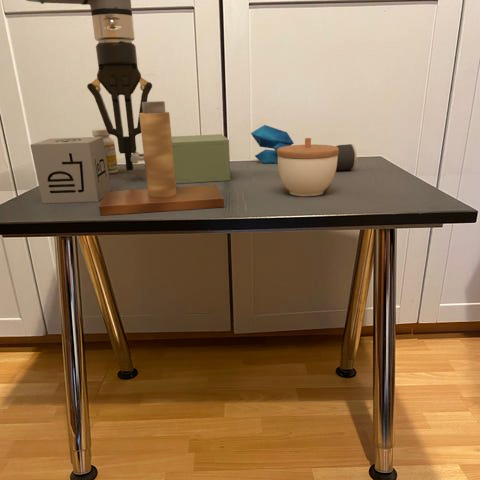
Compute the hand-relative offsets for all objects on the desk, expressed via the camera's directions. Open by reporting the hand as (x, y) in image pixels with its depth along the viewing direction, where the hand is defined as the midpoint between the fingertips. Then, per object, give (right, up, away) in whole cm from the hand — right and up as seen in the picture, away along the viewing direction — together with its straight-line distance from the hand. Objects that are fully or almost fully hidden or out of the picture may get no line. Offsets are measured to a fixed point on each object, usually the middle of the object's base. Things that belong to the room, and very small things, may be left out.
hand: (130, 169), depth 103 cm
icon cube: (-7, -9, -12) cm, 17 cm away
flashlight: (+41, +1, +4) cm, 42 cm away
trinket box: (+36, -9, -15) cm, 40 cm away
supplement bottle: (-8, +3, +13) cm, 16 cm away
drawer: (+9, -1, +2) cm, 10 cm away
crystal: (+32, +7, +19) cm, 38 cm away
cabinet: (+13, -1, +3) cm, 14 cm away
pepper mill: (+10, -11, -20) cm, 25 cm away
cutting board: (+10, -12, -19) cm, 25 cm away
